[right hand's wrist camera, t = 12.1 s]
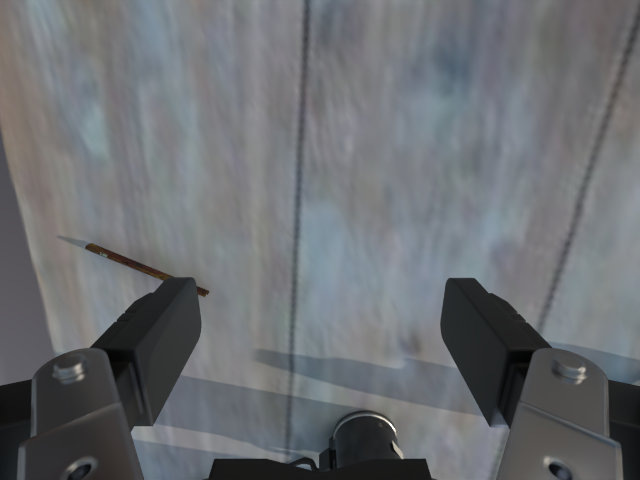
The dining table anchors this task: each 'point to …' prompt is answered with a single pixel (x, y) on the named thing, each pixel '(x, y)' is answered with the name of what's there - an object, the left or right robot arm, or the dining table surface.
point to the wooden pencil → (135, 265)
